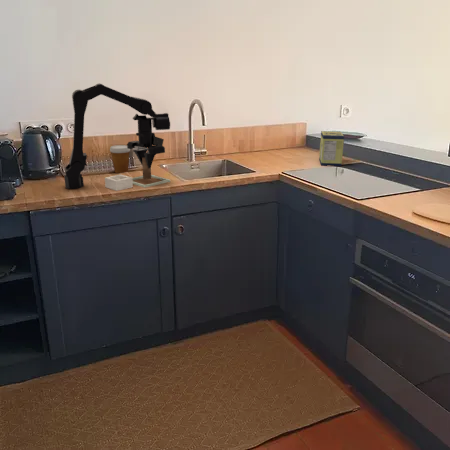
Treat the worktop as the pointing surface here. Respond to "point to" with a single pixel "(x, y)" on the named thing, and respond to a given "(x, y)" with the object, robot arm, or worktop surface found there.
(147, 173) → the walnut pin
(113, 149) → the disposable coffee cup
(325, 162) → the protein box
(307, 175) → the worktop surface
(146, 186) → the pale green square frame
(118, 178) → the box
